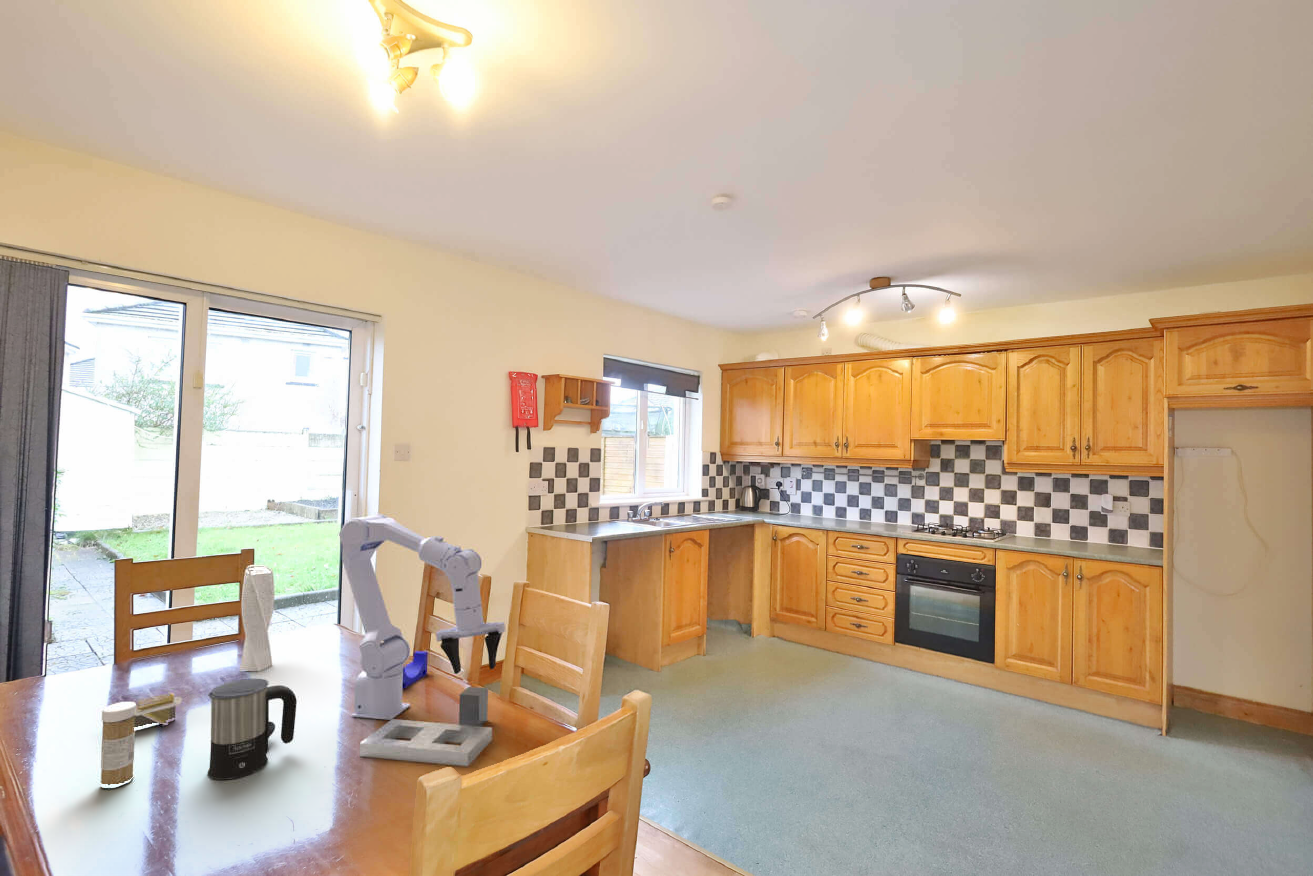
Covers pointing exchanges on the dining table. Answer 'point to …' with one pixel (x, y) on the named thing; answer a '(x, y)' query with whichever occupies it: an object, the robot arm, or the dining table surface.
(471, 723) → the upright grey block
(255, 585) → the skyscraper
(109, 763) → the sprinkles bottle
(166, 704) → the platform
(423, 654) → the cable clip
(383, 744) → the grey flat slab
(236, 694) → the milk frother
